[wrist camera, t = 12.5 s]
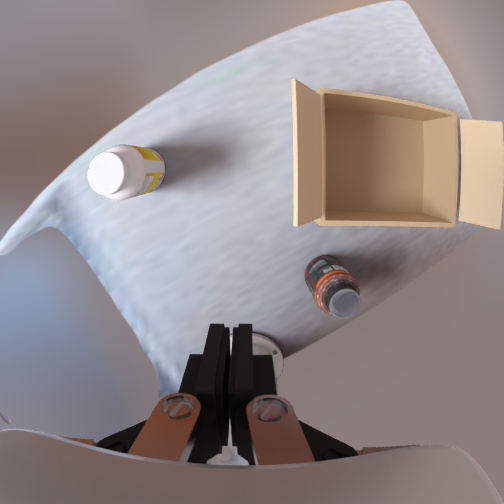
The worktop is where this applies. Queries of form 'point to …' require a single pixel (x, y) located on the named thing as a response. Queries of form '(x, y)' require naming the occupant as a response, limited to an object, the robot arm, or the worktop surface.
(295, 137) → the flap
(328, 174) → the carton
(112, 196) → the supplement bottle
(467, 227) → the worktop surface
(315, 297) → the supplement bottle
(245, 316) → the worktop surface
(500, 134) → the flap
